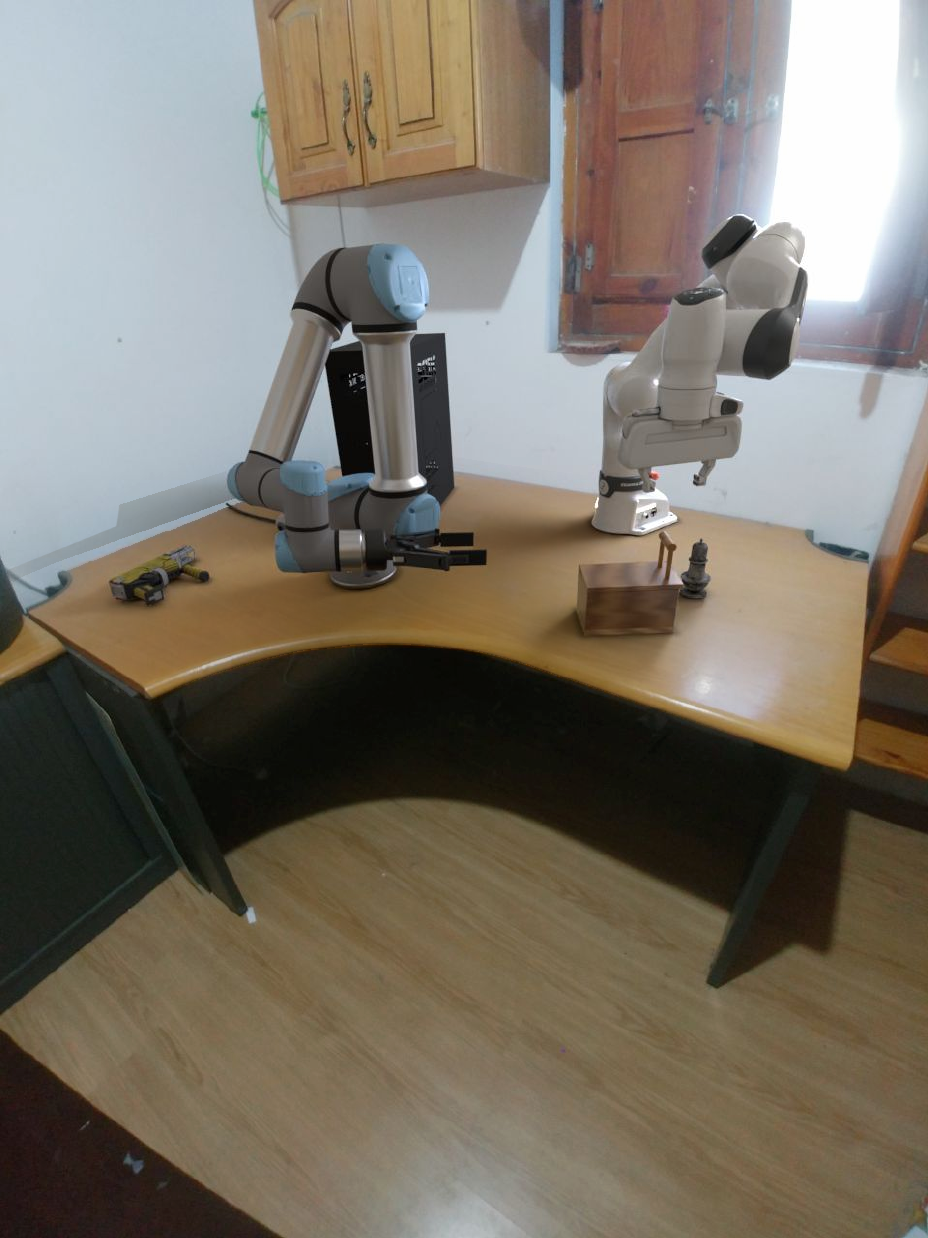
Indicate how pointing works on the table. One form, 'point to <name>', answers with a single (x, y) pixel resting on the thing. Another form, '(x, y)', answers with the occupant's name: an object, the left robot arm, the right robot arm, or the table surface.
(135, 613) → the table surface
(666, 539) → the lid
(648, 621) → the chest
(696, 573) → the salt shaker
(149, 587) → the toy gun
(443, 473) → the black computer tower
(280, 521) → the eyeball
